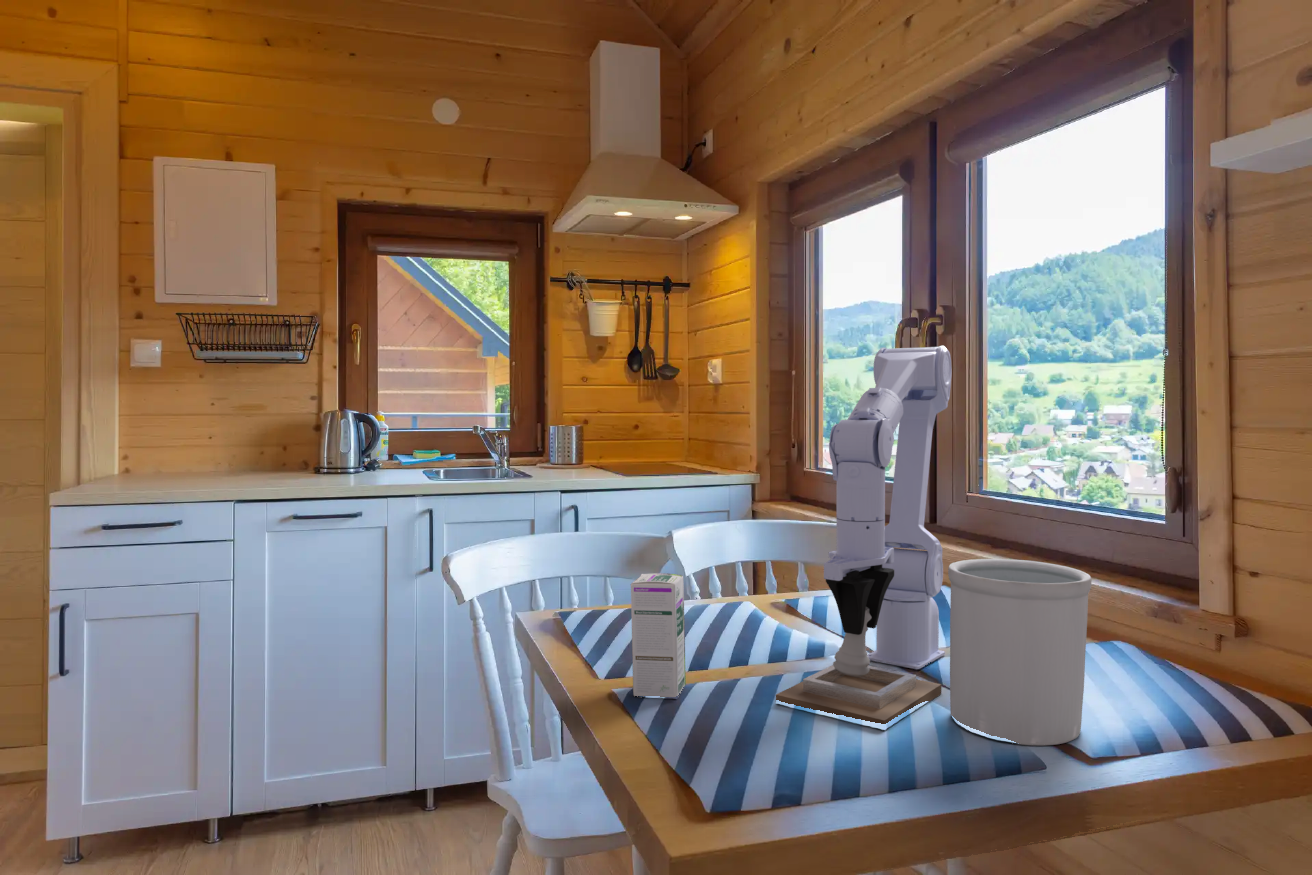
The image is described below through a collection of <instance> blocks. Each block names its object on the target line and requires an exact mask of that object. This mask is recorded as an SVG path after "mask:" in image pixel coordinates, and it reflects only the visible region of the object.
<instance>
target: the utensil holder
mask: <svg viewBox="0 0 1312 875" xmlns="http://www.w3.org/2000/svg"><path fill="white" fill-rule="evenodd" d="M947 571H948V572H947V573H948V580H949V582H950V603H949V604H950V615H949V616H950V617H949V625H950V626H949V653H950V654H949V697H950V698H949V700H950V702H949V703H950V704H949V705H950V706H949V707H950V709H949V710H950V716H951V715H952V716H953V717H954V718H955V719H956V720H957V721H959V722H960V723H962V724H964V725H966V726H969V727H970V728H973V729H976V730H979V731H981V732H984V733H986V734H989V735H991V736H997V737H1000V738H1006V739H1008V740H1011V741H1014V742H1016V743H1019V744H1018V745H1023V746H1054V745H1060V744H1061V745H1062V744H1065V743H1070V742H1072V741H1074V740H1075V739H1077V738H1078V737H1079V736H1080V734H1081V729H1082V721H1083V720H1082V719H1083V717H1082V716H1083V703H1084V702H1083V701H1084V693H1085V691H1084V690H1085V676H1086V674H1085V672H1086V670H1085V669H1086V650H1087V649H1086V647H1087V634H1088V633H1087V632H1088V631H1087V630H1088V629H1087V628H1088V615H1089V614H1088V612H1089V611H1088V610H1089V607H1088V606H1089V593H1090V591H1091V589H1092V577H1091V575H1090V574H1089V573H1086V572H1085V571H1082V570H1080V569H1076V568H1073V567H1069V566H1065V565H1060V564H1054V563H1049V562H1042V561H1036V560H1026V559H1025V560H1024V559H1007V558H978V559H976V558H975V559H963V560H958V561H956V562H955V561H953V562H952V563H950V564H949V566H948V569H947Z"/></svg>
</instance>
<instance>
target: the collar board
mask: <svg viewBox="0 0 1312 875" xmlns="http://www.w3.org/2000/svg"><path fill="white" fill-rule="evenodd" d="M867 667H868V668H869V669H870V670H869V672H868V673H867V674H866V675H864V676H860V677H855V676H848V675H845V674H842V673H840V672H838V671H837V670H836V669H835V668H834V666H833V664H832V665H830V666H828V667H826V668H824V669H821V670H819V671H817V672H815V673H813V674H811V675H809V676H807V677H805V678H803V679H802V681H801V682H799V683H797V684H794V685H792V686H791V687H788V688H786V689H784V690H782V691H781V692H778V693H776V694H775V701H776V700H779V701H781V702H785V703H788V704H794V705H796V706H801V707H804V708H809V709H810V708H811V709H813V710H820V711H824V712H827V713H832V714H833V713H834V714H836V715H844V716H846V717H852V718H855V719H861V720H865V721H870V722H875V723H881V724H886V723H888V722H889V721H891V720H892V719H894V718H895V717H898V715H901V714H902V713H904V712H906V711H907V710H909V709H911V708H913V707H914V706H916V705H918V704H920V703H922V702H925V701H929V702H928V703H930V702H931V701H933V700H934V699H936V698H937V697H939V696H941V695H942V683H937V682H933V681H927V680H922V679H918V678H917V674H911V673H907V672H902V671H897V670H892V669H888V668H882V667H878V666H872V665H868V666H867Z"/></svg>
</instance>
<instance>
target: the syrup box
mask: <svg viewBox="0 0 1312 875" xmlns="http://www.w3.org/2000/svg"><path fill="white" fill-rule="evenodd" d="M684 585H685V584H684V576H683V575H682V574H678V573H677V574H676V573H669V572H668V573H666V572H661V573H659V572H655V573H654V572H653V573H641V574H640V576H639V577H638V578H636V579H634V581H633V582H631V584H630V606H631V608H630V610H631V611H630V612H631V613H630V614H631V651H632V653H631V655H632V656H631V657H632V690H633V691H632V692H633V693H632V694H633V696H634V697H635V696H637V697H636V698H639V697H638V696H643V697H644V696H660V697H676V696H678V695H679V693H680V694H682V692H681V691H683V690H682V689H684V688H685V687H686V685H687V683H686V681H687V680H686V678H687V677H686V674H687V673H686V634H685V633H686V632H685V595H684V594H685V593H684V592H685V591H684V590H685V589H684V588H685V586H684ZM683 687H684V688H683ZM679 696H680V695H679ZM679 696H678V697H679Z"/></svg>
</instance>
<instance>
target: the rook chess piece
mask: <svg viewBox="0 0 1312 875" xmlns="http://www.w3.org/2000/svg"><path fill="white" fill-rule="evenodd" d="M870 619H871V615H870V613H869V609H868V607H866V610H865V620H864V627H863V631H862V634H860V635H856V634H850V633H845V632H844V633H845V634H844V638H843V641H842V644H841V646H840V647H839V648H838V650H837V651H836V652H835V655H834V659H835V661H833V662H832V665H833V666H834V668H835V669H836V670H837V671H838V672H840V673H842V674H845V675H848V676H855V677H860V676H864V675H866V674H867V673H868V672H869V670H870V669H869V668H868V667H867V666H870V663H871V660H870V659H869V658H868V656H867V655H868V652H867V648H866V634H867V632H868V630H869V628H868V627H867V622H868V621H869V620H870Z"/></svg>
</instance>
